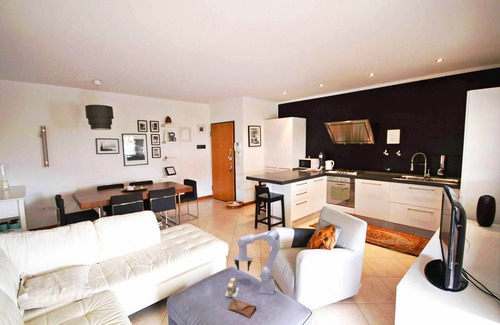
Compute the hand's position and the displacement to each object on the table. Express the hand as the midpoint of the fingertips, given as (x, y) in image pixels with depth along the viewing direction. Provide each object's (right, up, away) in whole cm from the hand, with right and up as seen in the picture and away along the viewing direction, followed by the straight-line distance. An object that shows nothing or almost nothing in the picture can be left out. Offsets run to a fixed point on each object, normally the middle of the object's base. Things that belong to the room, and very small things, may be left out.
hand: (243, 270), depth 172 cm
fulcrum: (-8, -11, -10) cm, 17 cm away
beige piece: (-8, -8, -11) cm, 16 cm away
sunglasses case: (0, -13, -27) cm, 30 cm away
